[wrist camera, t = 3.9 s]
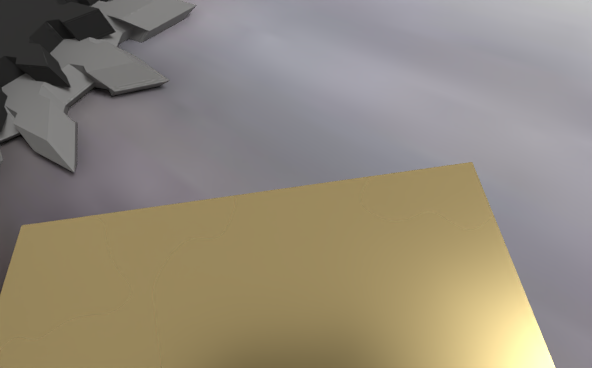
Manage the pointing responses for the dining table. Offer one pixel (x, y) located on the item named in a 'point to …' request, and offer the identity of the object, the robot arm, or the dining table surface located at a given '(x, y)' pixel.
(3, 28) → the decorative piece
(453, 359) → the billet
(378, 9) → the dining table surface
